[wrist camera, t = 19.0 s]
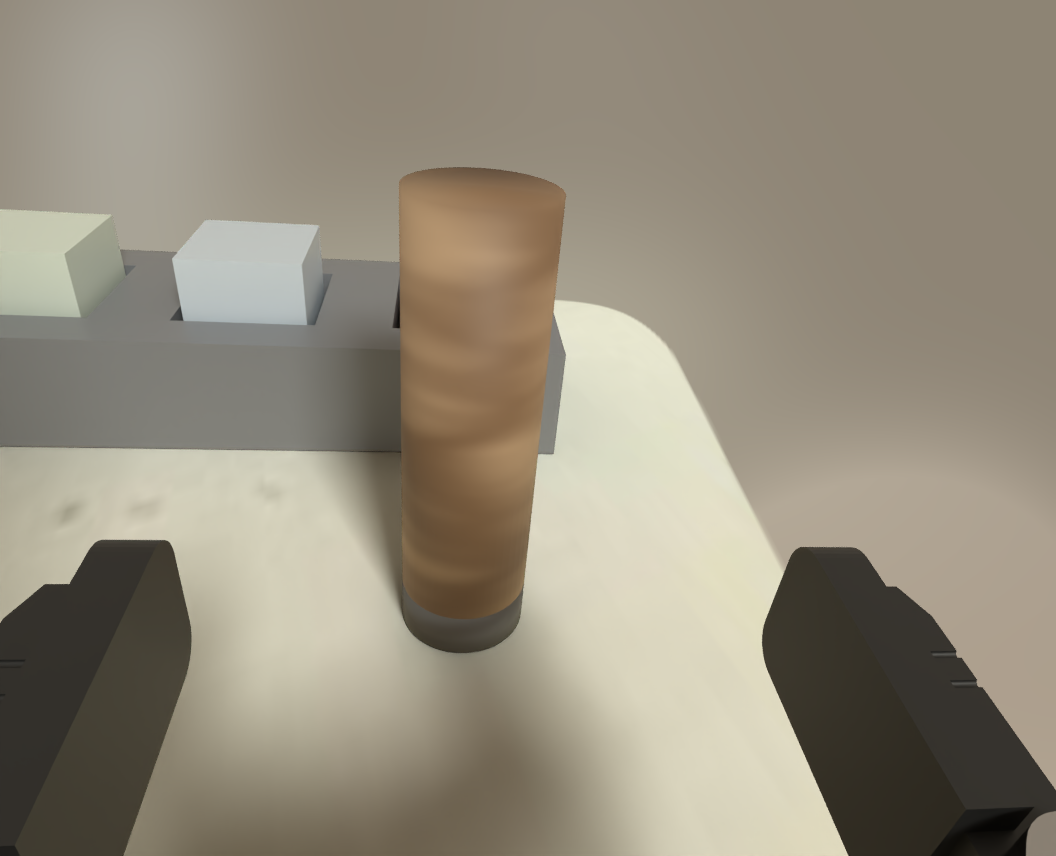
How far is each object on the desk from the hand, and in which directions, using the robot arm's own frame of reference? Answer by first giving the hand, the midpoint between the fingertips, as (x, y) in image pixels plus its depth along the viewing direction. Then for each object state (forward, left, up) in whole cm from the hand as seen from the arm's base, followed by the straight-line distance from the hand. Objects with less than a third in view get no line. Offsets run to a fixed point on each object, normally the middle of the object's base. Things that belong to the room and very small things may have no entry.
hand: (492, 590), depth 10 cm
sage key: (-18, +25, -9) cm, 32 cm away
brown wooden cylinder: (0, +11, -12) cm, 16 cm away
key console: (-9, +25, -12) cm, 29 cm away
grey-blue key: (-9, +25, -9) cm, 28 cm away
